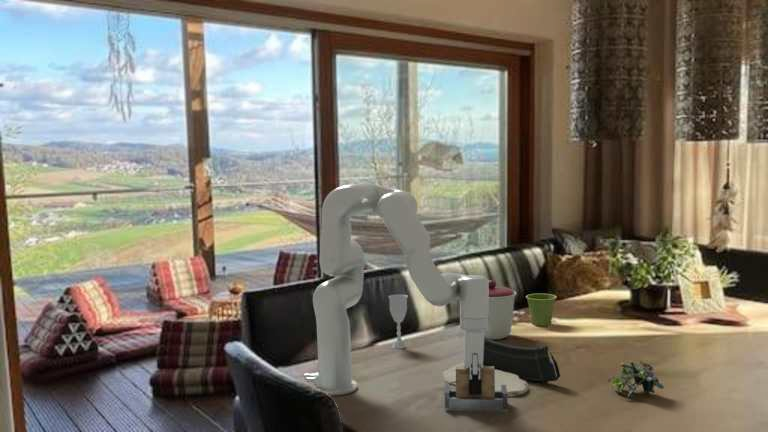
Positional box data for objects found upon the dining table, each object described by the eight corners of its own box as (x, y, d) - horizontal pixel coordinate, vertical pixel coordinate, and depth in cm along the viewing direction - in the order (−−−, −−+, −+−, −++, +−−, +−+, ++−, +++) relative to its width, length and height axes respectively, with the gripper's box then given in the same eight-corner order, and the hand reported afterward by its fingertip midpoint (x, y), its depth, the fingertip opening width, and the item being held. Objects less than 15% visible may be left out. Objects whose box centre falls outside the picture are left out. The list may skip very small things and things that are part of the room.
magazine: (463, 337, 209) (541, 324, 187) (470, 335, 211) (547, 322, 189) (476, 391, 206) (556, 384, 185) (483, 389, 208) (563, 381, 187)
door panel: (456, 399, 172) (455, 369, 171) (456, 395, 175) (455, 365, 174) (494, 400, 171) (494, 369, 170) (494, 395, 174) (494, 366, 173)
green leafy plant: (646, 412, 180) (673, 382, 175) (624, 414, 174) (652, 383, 169) (618, 380, 188) (644, 351, 183) (596, 382, 181) (622, 351, 176)
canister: (527, 337, 241) (526, 280, 239) (491, 345, 231) (490, 286, 229) (492, 328, 256) (492, 274, 254) (457, 335, 246) (456, 279, 244)
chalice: (398, 350, 228) (396, 299, 226) (385, 346, 233) (383, 296, 231) (413, 346, 232) (412, 296, 231) (400, 342, 237) (399, 293, 236)
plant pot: (524, 320, 266) (524, 293, 265) (554, 321, 265) (554, 293, 264) (527, 328, 254) (526, 299, 254) (558, 328, 253) (558, 299, 252)
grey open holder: (445, 410, 170) (444, 392, 170) (445, 401, 177) (445, 383, 177) (507, 412, 168) (507, 393, 168) (506, 402, 175) (505, 384, 175)
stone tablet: (468, 366, 209) (467, 359, 209) (540, 390, 185) (540, 382, 185) (427, 377, 199) (427, 369, 199) (499, 404, 175) (499, 395, 175)
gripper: (460, 315, 180) (460, 381, 181) (459, 330, 164) (460, 402, 165) (487, 315, 179) (488, 381, 180) (490, 331, 163) (490, 403, 164)
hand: (475, 391), depth 173 cm, fingers closed on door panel, 3 cm apart
